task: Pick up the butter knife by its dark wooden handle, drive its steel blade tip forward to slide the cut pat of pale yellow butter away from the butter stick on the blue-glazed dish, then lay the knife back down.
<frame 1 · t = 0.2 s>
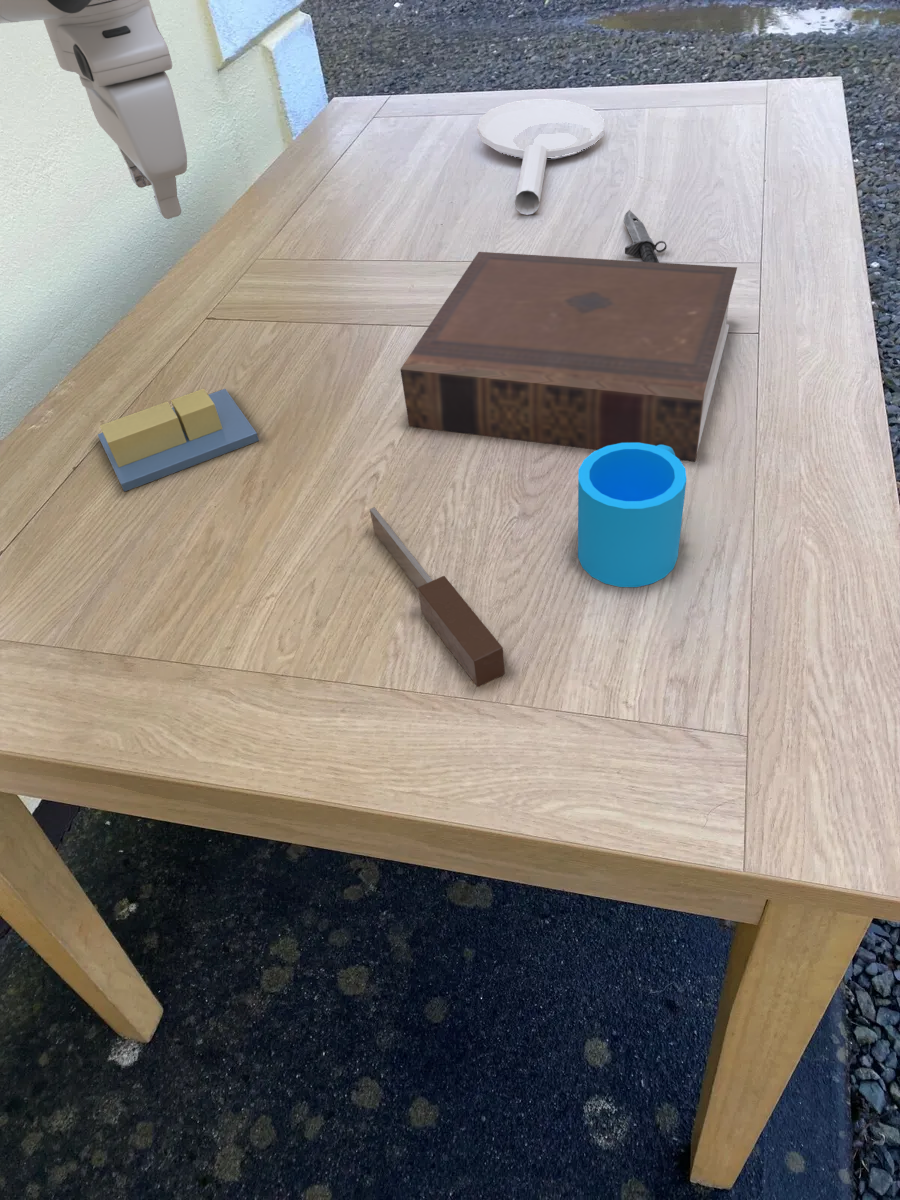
hand: (157, 199, 87), 20 cm above the table, tool pointing down, fingers open, 8 cm apart
mug: (637, 540, 76), on the table
butter knife: (462, 642, 70), on the table
butter dish: (178, 441, 93), on the table
book: (575, 375, 95), on the table
butter pat: (201, 427, 93), point 1 cm above the table, touching butter dish
frying pan: (537, 165, 134), on the table
knife: (642, 252, 112), on the table
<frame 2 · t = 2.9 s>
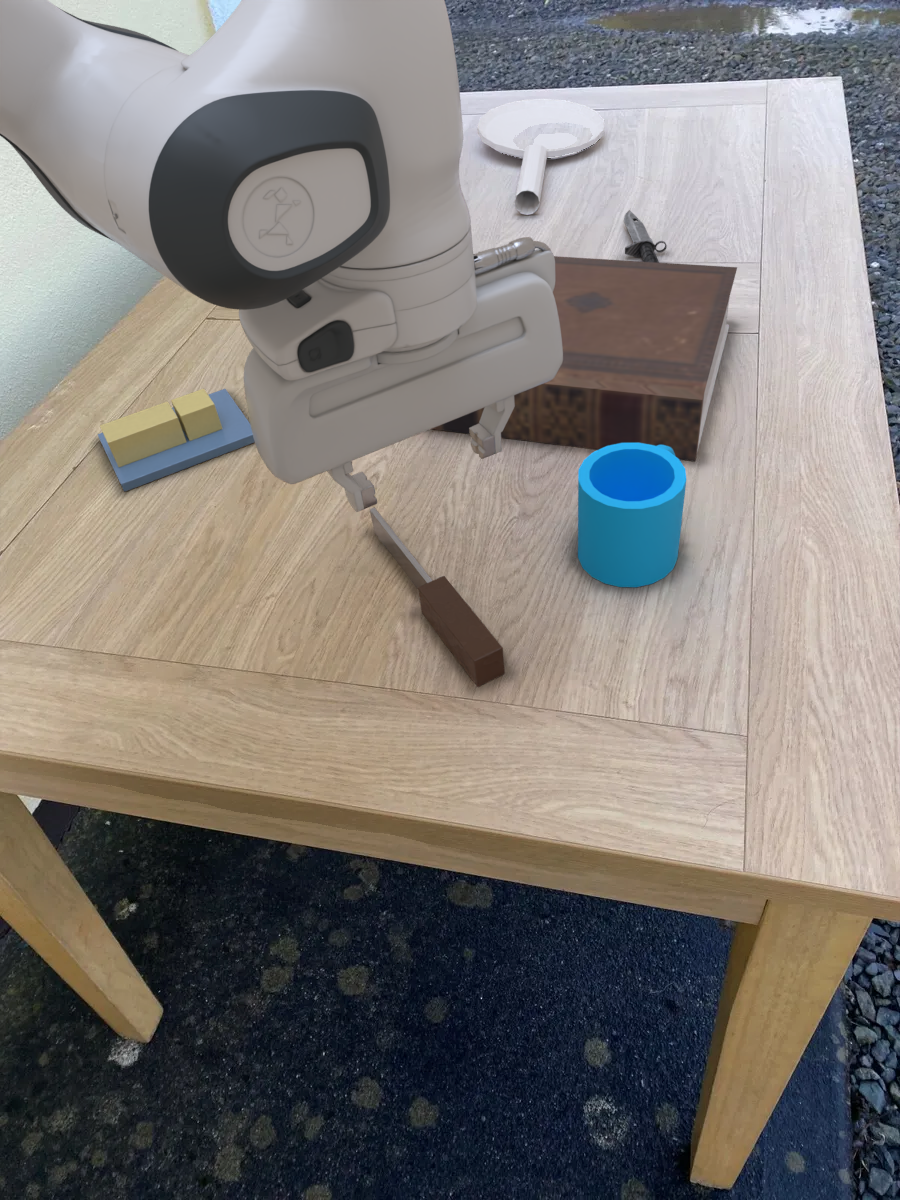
hand: (425, 477, 61), 15 cm above the table, tool pointing down, fingers open, 8 cm apart
nothing on the table moved.
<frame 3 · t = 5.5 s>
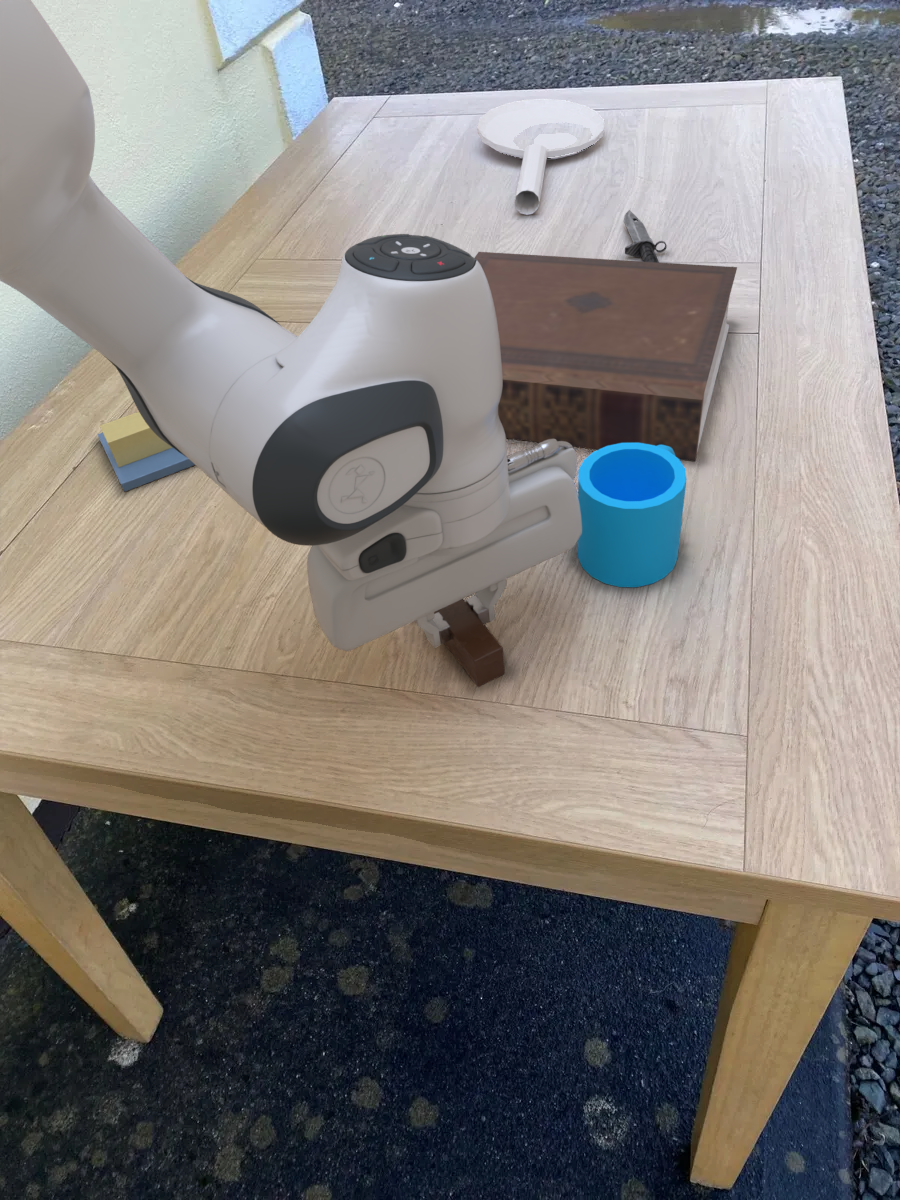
hand: (459, 628, 69), 2 cm above the table, tool pointing down, fingers closed on butter knife, 2 cm apart
butter knife: (462, 642, 70), on the table, touching gripper
everything else where it was.
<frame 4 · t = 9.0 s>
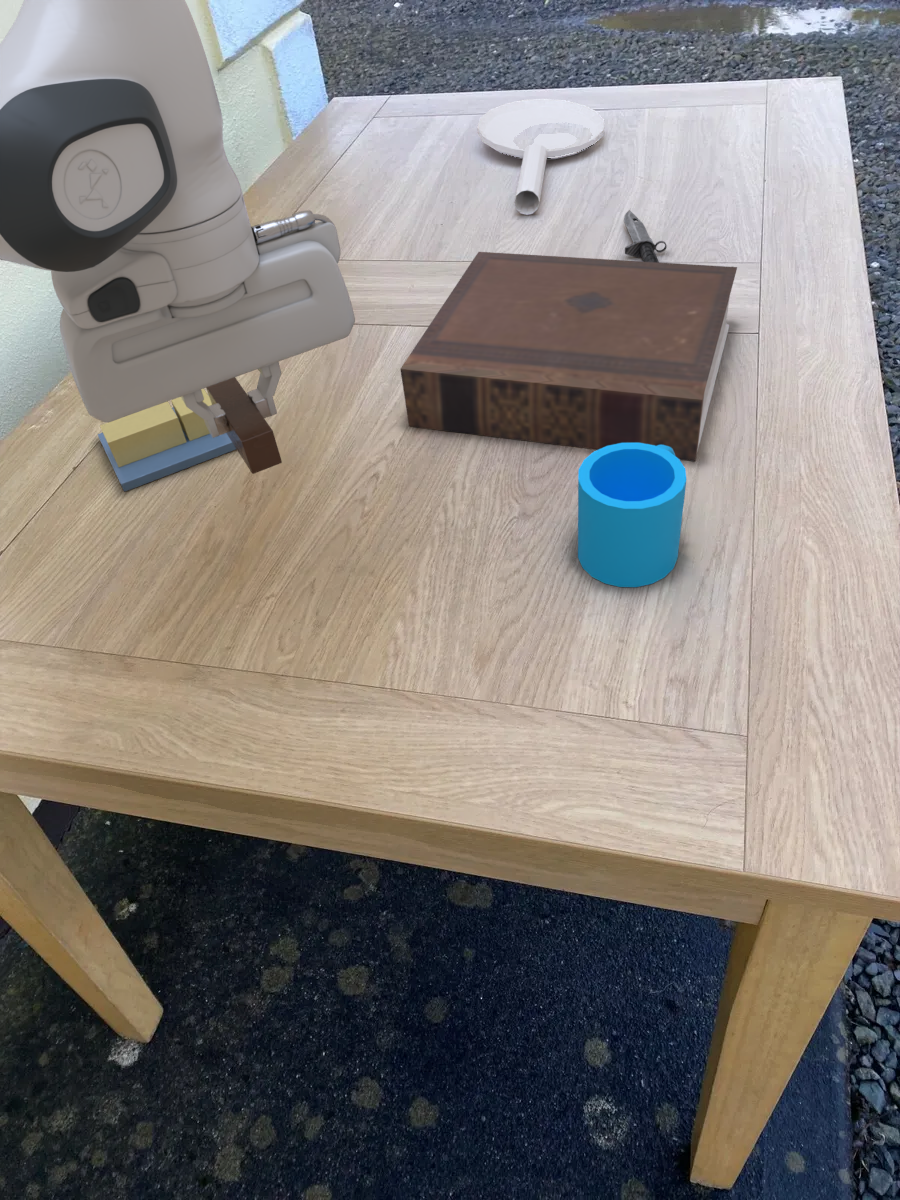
hand: (242, 422, 70), 14 cm above the table, tool pointing down, fingers closed on butter knife, 2 cm apart
butter knife: (248, 439, 71), point 12 cm above the table, touching gripper
everything else where it was.
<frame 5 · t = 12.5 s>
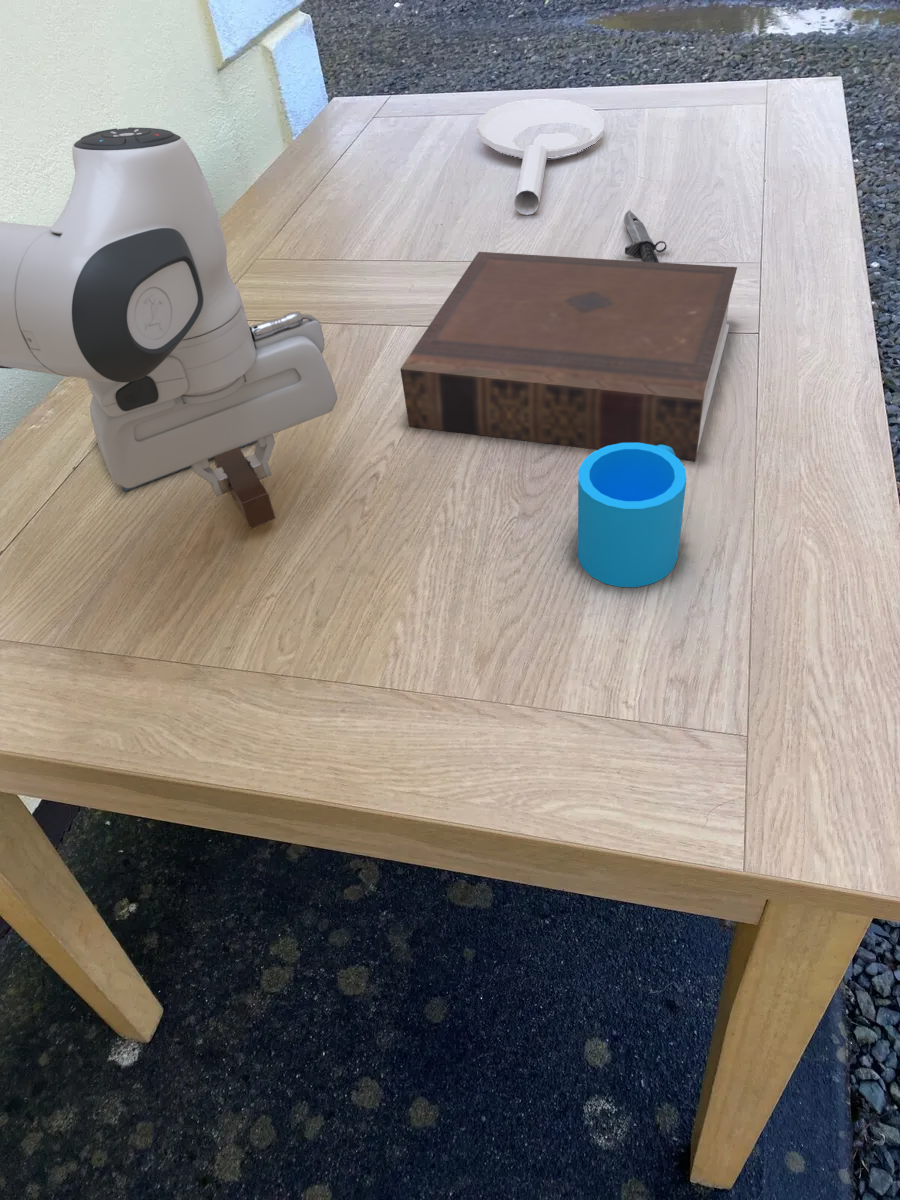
hand: (241, 483, 82), 3 cm above the table, tool pointing down, fingers closed on butter knife, 2 cm apart
butter knife: (246, 496, 83), point 2 cm above the table, touching butter pat, gripper
butter pat: (192, 413, 95), point 1 cm above the table, touching butter dish, butter knife
everything else where it was.
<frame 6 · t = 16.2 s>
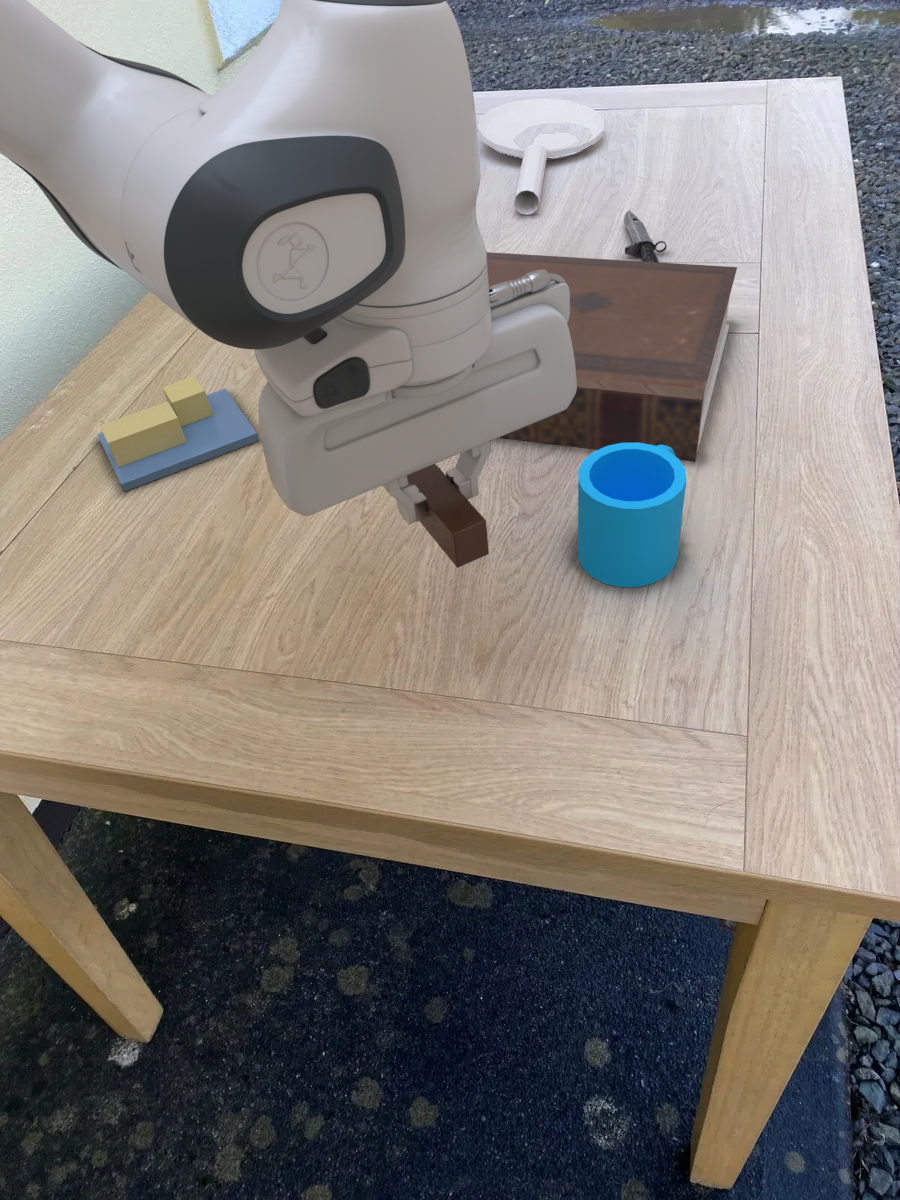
hand: (438, 505, 61), 13 cm above the table, tool pointing down, fingers closed on butter knife, 2 cm apart
butter knife: (441, 522, 62), point 12 cm above the table, touching gripper
butter pat: (192, 413, 95), point 1 cm above the table, touching butter dish
everything else where it was.
when the fingers open (2 cm above the table, at t = 18.9 s): butter knife stays where it is, on the table.
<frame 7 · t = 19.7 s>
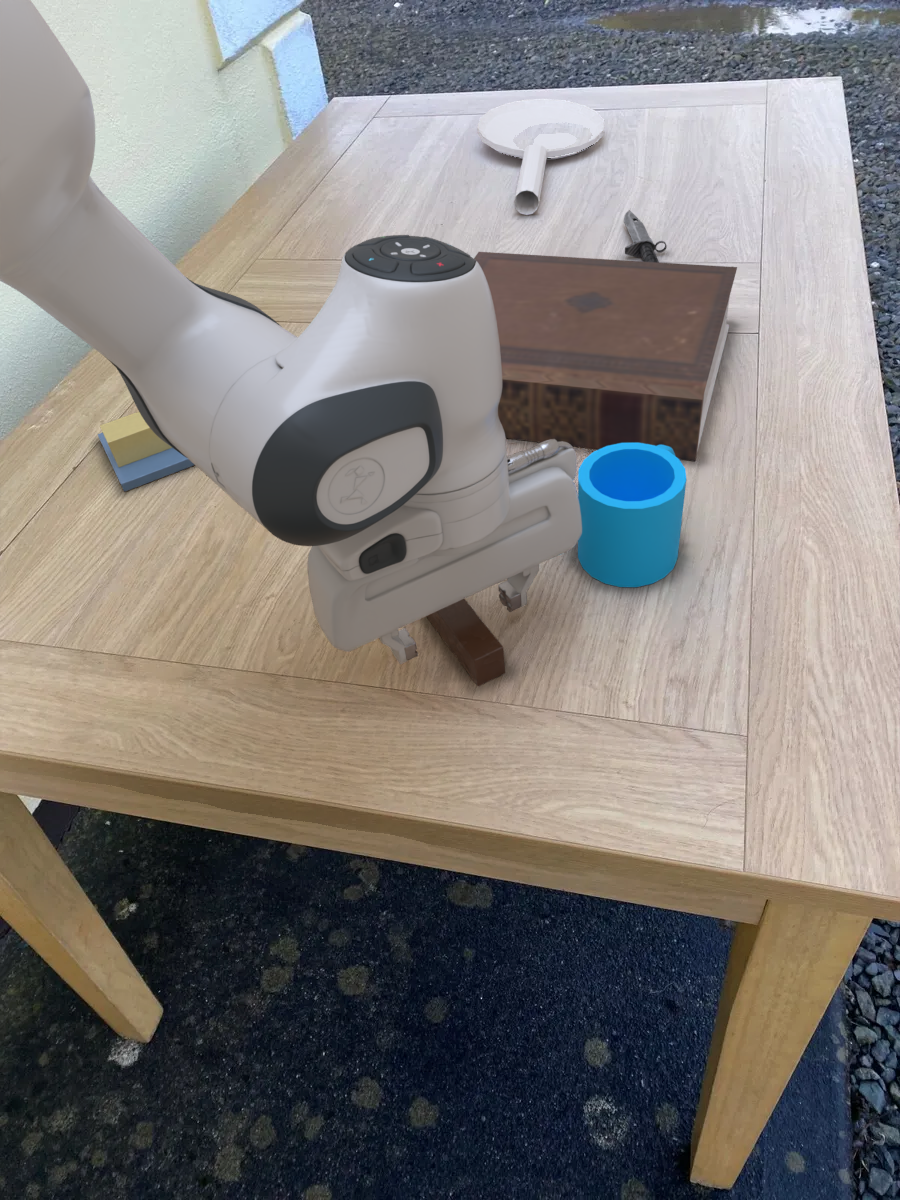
hand: (460, 629, 69), 2 cm above the table, tool pointing down, fingers open, 8 cm apart
butter knife: (462, 642, 70), on the table
everything else where it was.
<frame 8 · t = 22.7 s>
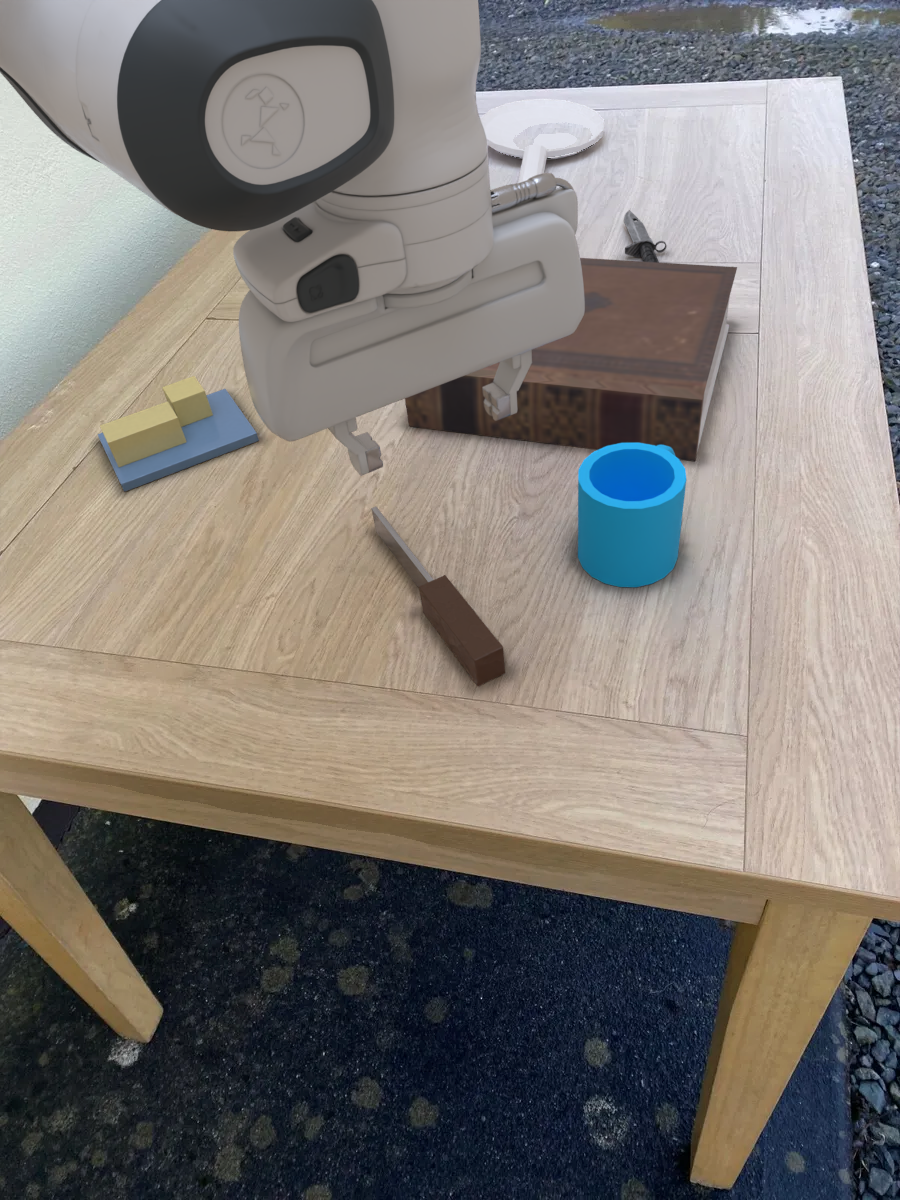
hand: (435, 439, 57), 19 cm above the table, tool pointing down, fingers open, 8 cm apart
nothing on the table moved.
at the end: butter pat 0.7 cm from the target spot on the butter dish, point 1.0 cm above the butter dish's base; butter pat tilted 0°; the gripper is holding nothing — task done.
